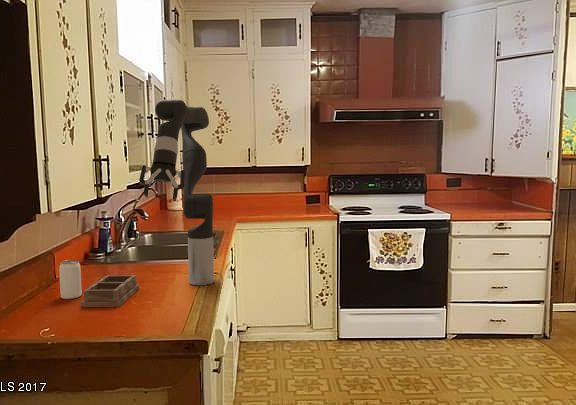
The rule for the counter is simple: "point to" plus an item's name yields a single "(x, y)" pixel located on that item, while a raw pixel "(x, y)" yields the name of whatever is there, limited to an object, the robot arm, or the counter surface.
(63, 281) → the can
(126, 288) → the tray
